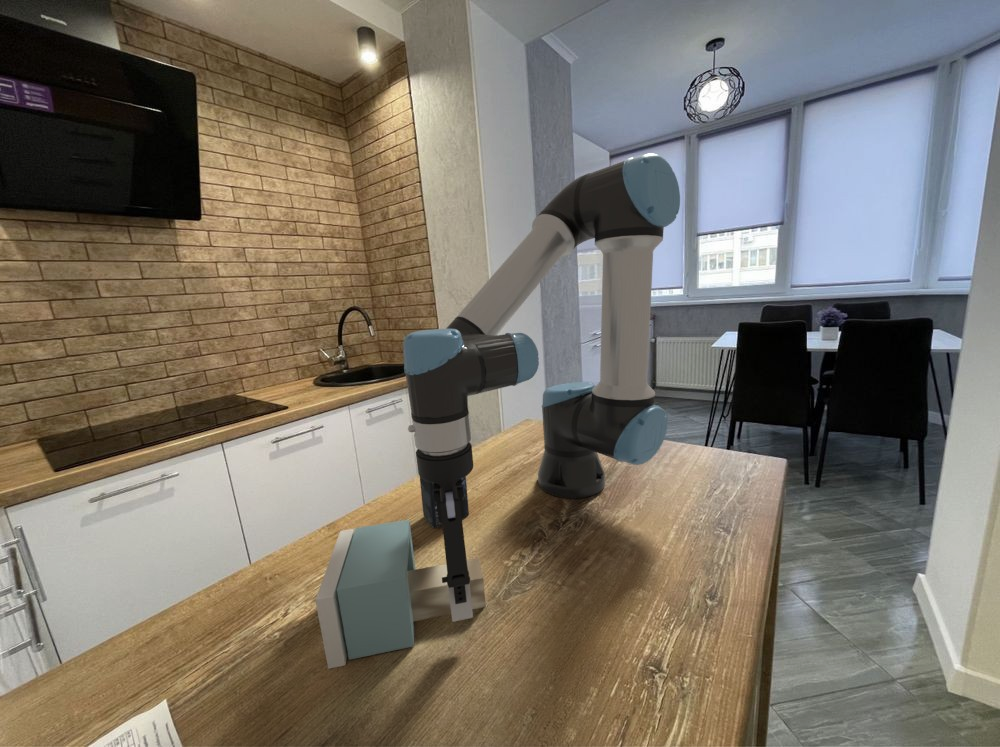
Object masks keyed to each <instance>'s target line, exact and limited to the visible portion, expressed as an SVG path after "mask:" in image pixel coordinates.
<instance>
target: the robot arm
mask: <svg viewBox="0 0 1000 747" xmlns="http://www.w3.org/2000/svg"><path fill="white" fill-rule="evenodd" d="M671 166H672V165H671V164H670V163H669V162H668V161H667V160H666V159H665V158H664V157H662V156H661V155H659V154H656V153H646V154H642V155H639V156H635V157H634V156H632V157H628V158H627V159H625V160H623V161H620V162H617V163H614V164H611V165H608V166H606V167H604V168H601V169H598V170H594V171H592V172H589V173H586V174H583V175H580V176H579V177H578V178H577V177H576V178H575V179H574V180H572V181H571V182H570V183H569V184H567V185H566V186H565V187H564V188H562V190H560V191H559V192H558V193H557V194H556V195H555V196H554V197H553V198H552V199H551V200H550V201H549V203H547V204H546V206H545V207H544V208H543V209H542V210H541V211H540V212H539V213H538V215H537V216H536V217H535V218H534V219H533V221H532V225H531V231H530V232H529V233H528V234H527V235H526V236H525V237H524V239H523V240H522V241H521V242H520V244H518V246H517V247H516V248H515V249H514V250H513V251H512V252H511V254H510V255H509V256H508V257H507V258H506V260H504V262H503V263H502V264H501V265H500V266H499V268H498V269H497V270H496V271H495V272H494V273H493V274H492V275H491V276H490V277H489V279H488V280H487V281H486V282H485V283H484V285H483V286H482V287H481V288H480V289H479V291H477V293H476V294H475V295H474V296H473V298H471V300H469V302H468V303H467V304H466V306H464V308H462V310H461V311H460V312H459V313H458V315H456V317H455V318H454V319H453V320H452V321H451V322H450V324H448V326H447V327H445V328H434V329H425V330H424V329H423V330H417V331H413V332H410V333H408V334H407V335H406V336H405V337H404V339H403V342H402V343H403V344H402V345H403V351H402V352H403V364H404V367H403V370H404V374H405V379H406V386H407V393H408V399H409V405H410V407H409V408H410V415H411V420H412V421H411V422H412V423H411V424H410V425H408V427H407V431H408V432H409V433H414V434H413V438H414V446H415V448H416V449H417V450H416V451H415V458H416V465H417V472H418V476H419V478H420V477H421V478H422V479H423V480H425V481H427V482H431V483H432V482H433V483H434V499H435V503H436V504H437V510H438V520H439V523H440V524H442V526H441V527H442V533H443V534H442V535H443V542H444V543H443V544H444V553H445V564H447V577H442V583H446V582H447V585H448V590H449V598H450V607H451V614H450V615H451V621H452V623H454V622H458V621H463V620H468V619H472V618H474V612H473V609H472V602H471V592H470V576H469V571H468V567H467V560H468V559H467V552H466V544H465V543H466V542H465V534H464V526H463V521H464V519H465V517H466V516H465V515H464V507H463V499H464V492H463V486H462V480H461V478H464V477H466V478H467V476H468V475H470V474H471V472H472V471H473V469H474V457H473V456H474V455H473V448H472V443H471V440H472V430H471V421H470V420H471V418H470V411H469V404H468V400H469V399H468V397H469V396H470V397H471V396H475V395H478V394H482V393H486V392H491V391H494V390H499V389H503V388H506V387H511V386H512V387H515V386H518V385H519V384H521V383H524V382H527V381H529V380H531V379H532V378H533V377H535V375H536V374H537V372H538V369H539V365H540V361H539V359H540V358H539V351H538V347H537V344H536V343H535V341H534V340H533V339H532V338H531V336H530V335H527V334H525V333H523V332H516V333H514V332H513V333H510V332H506V333H505V334H499V333H500V332H501V331H502V329H503V328H504V327H505V326H506V325H507V323H508V322H509V321H510V320H511V318H512V317H513V316H514V315H515V313H516V312H517V311H518V310H519V308H521V306H522V305H523V304H524V303H525V301H526V300H527V299H528V298H529V296H530V295H531V294H532V293H533V292H534V291H535V289H536V288H537V287H538V286H539V285H540V283H541V282H542V281H543V279H544V278H545V277H546V275H548V273H549V272H550V270H552V268H554V266H555V264H557V262H558V261H559V260H560V259H561V257H566V256H568V255H570V254H571V253H572V252H573V251H574V250H575V248H576V247H577V246H579V245H580V244H582V243H584V242H587V241H589V240H592V239H594V245H595V247H596V248H597V249H598V250H599V251H601V253H602V274H601V275H602V278H601V280H602V283H601V284H602V285H601V286H602V288H601V321H600V323H601V324H600V326H601V327H600V329H601V330H600V363H599V364H600V365H599V372H600V373H599V374H600V375H599V382H598V383H597V384H596V385H595V384H594V383H593V382H588V381H579V382H578V381H576V382H567V383H561V384H556V385H552V386H550V387H547V388H546V389H545V390H544V391H543V393H542V405H541V408H542V411H541V412H542V425H543V426H542V428H543V444H544V451H543V455H542V457H541V462H540V464H539V468H538V471H537V480H538V481H537V484H538V485H539V487H540V489H542V491H544V492H545V493H547V494H549V495H552V496H555V497H558V498H564V499H583V498H589V497H591V496H594V495H596V494H598V493H601V491H602V490H604V488H605V486H606V476H605V475H606V474H605V471H604V468H603V465H602V462H601V459H600V457H599V454H600V455H603V456H605V457H608V458H611V459H614V460H615V461H617V462H620V463H627V464H628V465H629V464H630V465H634V466H639V465H643V464H645V463H647V462H649V461H650V460H652V459H653V458H654V457H655V456H656V454H657V453H658V452H659V450H660V449H661V447H662V445H663V443H664V440H665V438H666V434H667V432H668V431H667V430H668V424H669V423H668V421H669V420H668V416H667V414H666V410H665V409H664V408H662V407H660V405H656V392H655V390H654V389H653V388H652V387H651V386H650V385H649V383H648V373H649V372H648V371H649V370H648V369H649V349H650V348H649V347H650V332H651V330H650V328H651V326H650V325H651V311H652V310H651V307H652V306H651V305H652V303H651V302H652V284H653V264H654V263H653V262H654V251H655V249H656V248H657V247H658V246H659V245H660V244H661V243H662V242H663V241H664V229H665V228H667V227H668V226H670V225H671V224H673V222H674V221H675V220H676V219H677V215H678V214H679V211H680V206H681V195H680V194H681V192H680V186H679V181H678V178H677V176H676V174H675V172H674V170H673V168H672V167H671ZM498 334H499V335H498Z"/></svg>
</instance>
